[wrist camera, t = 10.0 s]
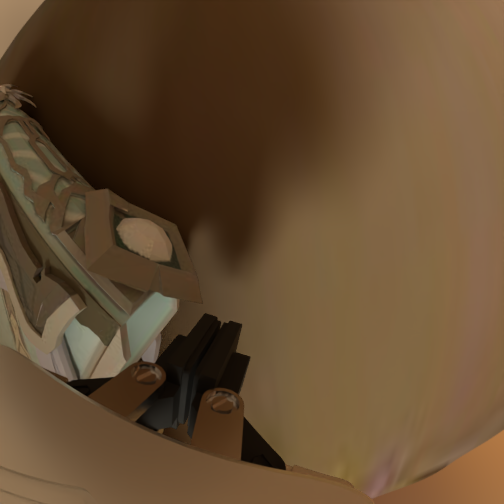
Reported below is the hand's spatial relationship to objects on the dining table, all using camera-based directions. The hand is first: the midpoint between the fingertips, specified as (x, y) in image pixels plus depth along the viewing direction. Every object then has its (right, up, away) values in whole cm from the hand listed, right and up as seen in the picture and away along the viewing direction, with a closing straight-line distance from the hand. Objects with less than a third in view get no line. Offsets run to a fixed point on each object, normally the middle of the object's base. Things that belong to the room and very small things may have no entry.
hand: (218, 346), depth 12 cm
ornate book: (-17, +5, +7) cm, 19 cm away
